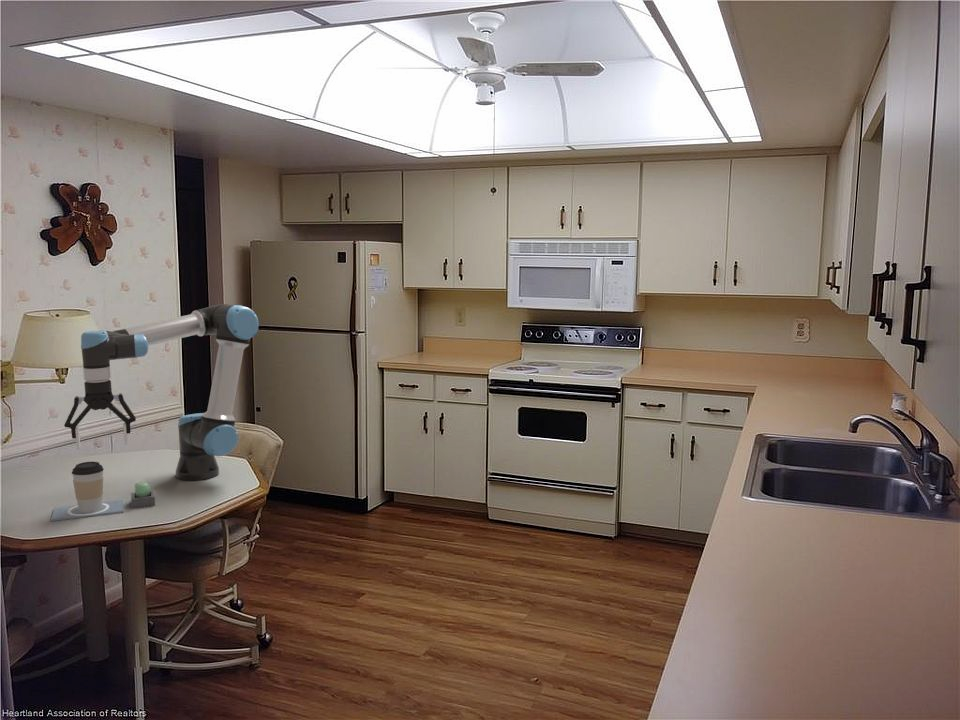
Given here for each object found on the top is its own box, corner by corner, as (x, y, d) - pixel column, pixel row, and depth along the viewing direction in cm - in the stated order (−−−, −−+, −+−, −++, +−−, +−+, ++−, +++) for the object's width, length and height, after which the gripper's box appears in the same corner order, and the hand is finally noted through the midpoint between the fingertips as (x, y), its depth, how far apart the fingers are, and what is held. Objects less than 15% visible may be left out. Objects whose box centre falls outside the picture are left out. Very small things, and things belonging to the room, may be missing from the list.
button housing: (154, 499, 252) (154, 490, 252) (155, 505, 246) (154, 496, 246) (131, 501, 249) (131, 493, 249) (131, 508, 243) (131, 499, 243)
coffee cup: (71, 514, 235) (67, 468, 232) (78, 505, 243) (75, 460, 241) (102, 512, 237) (99, 466, 235) (108, 502, 246) (105, 458, 243)
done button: (149, 493, 250) (149, 481, 250) (150, 497, 246) (149, 485, 246) (135, 494, 248) (134, 483, 248) (135, 498, 244) (134, 486, 244)
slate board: (123, 501, 250) (123, 499, 250) (123, 512, 239) (122, 510, 239) (54, 509, 241) (54, 507, 241) (51, 521, 230) (50, 519, 230)
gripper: (140, 375, 245) (145, 438, 248) (53, 381, 235) (59, 447, 238) (141, 379, 238) (145, 444, 241) (51, 385, 228) (56, 452, 231)
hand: (102, 445), depth 240 cm, fingers open, 13 cm apart
